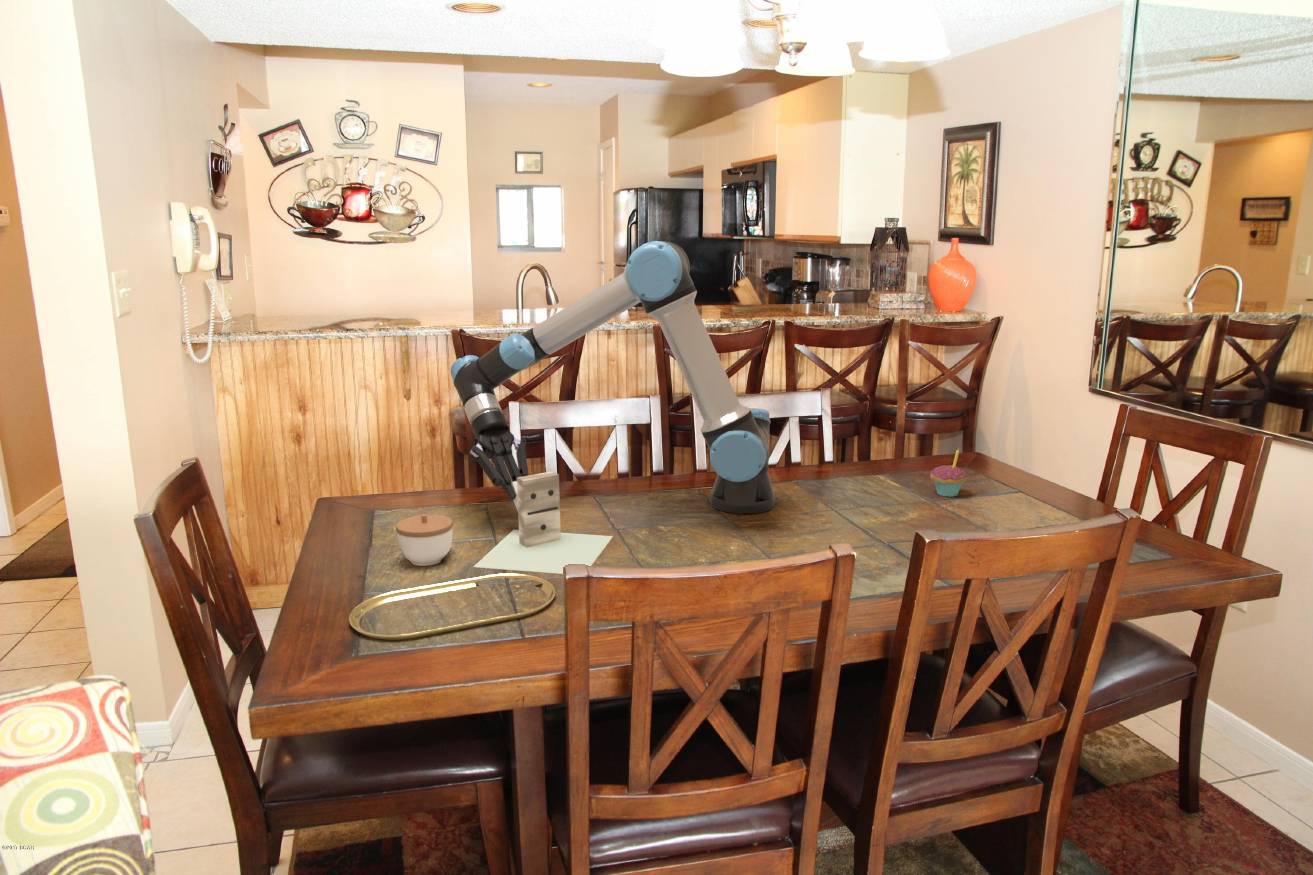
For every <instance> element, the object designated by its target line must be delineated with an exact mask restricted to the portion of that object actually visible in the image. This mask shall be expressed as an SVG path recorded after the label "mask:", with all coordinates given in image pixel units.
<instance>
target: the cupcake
mask: <svg viewBox="0 0 1313 875" xmlns="http://www.w3.org/2000/svg"><path fill="white" fill-rule="evenodd" d="M959 455H960V447H958V448H957V450H956V451H955V455H954V459H953V464H952V465H948V464H946V465H945V464H944V465H938V466H936V467H934V468H933V469H931V471H930V474H929V477H930V480H931V481H932V482H933V483H934V485H935V489H936V493H937V495H938V496H942V497H947V498H948V497H949V498H950V497H951V498H952V497H957V496H958V495H959V492H960V490H961V487H962V486H963V484H966V482H967V478H968V474H967V472H965V470H963V469H962V468H960V467H959V466H957V461H958V458H959Z"/></svg>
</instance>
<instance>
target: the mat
mask: <svg viewBox="0 0 1313 875" xmlns="http://www.w3.org/2000/svg"><path fill="white" fill-rule="evenodd" d="M613 538H614V536H613V535H604V534H603V535H601V534H599V535H597V534H589V533H588V534H587V533H585V534H584V533H574V532H573V533H568V532H561V540H557V541H552V542H548V543H543V544H539V545H535V546H530V547H525V546H523V545H521V544H520V543H519V529H513V530H511V531H510V532H509V533H508V534H507V535H506V536H505V537H504V538H503V539H501V541H499V543H497V544H496V545H495V546H494V547H493V548H492V549H491V550H490V551H489V552H488V553H487V554H485V555H484V556H483V557H482V558H481V559H480V560H479V561H478V562H476V563H475V565H473V568H479V569H480V568H481V569H491V570H492V569H494V570H506V571H517V572H519V571H521V572H532V573H534V572H535V573H544V574H545V573H547V574H557V575H558V574H559V575H564V574H563V567H564V566H565V565H568V564H585V565H588V566H591V567H592V565H593V564H594V563H595V561H596V560H597V559H598V557H599V556H600V555H601V554H602V552H603V551H604V549H605V548H606V547H607V545H609V543H610V541H611V540H612V539H613Z"/></svg>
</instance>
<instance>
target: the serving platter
mask: <svg viewBox="0 0 1313 875" xmlns="http://www.w3.org/2000/svg"><path fill="white" fill-rule="evenodd" d="M505 578H507V579H509V578H514V579H515V578H516V579H517V578H519V579H526V580H532V581H536V582H538V583H540V584H536V585H534V587H537V588H538V587H539V588H538V589H540V590H542V592H544V593H545V595H546V599H545V602H544V603H543V604H542V605H540V606H538V607H535V608H533V609H530V610H527V611H523V612H518V613H512V614H509V615H503V616H497V617H492V618H487V619H483V620H475V621H472V622H466V623H459V624H455V625H450V626H445V627H439V628H434V629H430V630H424V631H418V632H411V633H402V634H379V633H372V632H368V631H365V630H364V629H362V627H361V625H360V620H361V618H362V617H363V616H364V615H366V613H368V611H371V610H372V609H375V608H376V607H378V606H381V605H384V604H388V603H391V602H395V601H400V600H405V599H411V598H417V597H423V596H428V595H436V594H441V593H447V592H453V591H457V590H458V591H459V590H463V589H469V588H470V589H471V588H477V587H480V585H479V584H478V583H477V582H481V581H485V580H493V579H505ZM555 596H556V588H555V587H554V585H553V584H552V583H551V582H550V581H548V580H547V579H544V578H542V577H539V576H536V575H532V574H531V575H530V574H524V573H498V574H497V573H496V574H487V575H482V576H476V577H472V578H464V579H460V580H454V581H447V582H441V583H435V584H429V585H423V586H418V587H411V588H406V589H399V590H395V591H394V590H393V591H389V592H386V593H382V594H379V595H375V596H373V597H371V598H368V599H366V600H364V601H362V602H361V603H359V604H358V605H357V606H355V607H354V608H353V609H352V610H351V612H350V613H349V615H348V621H349V625H350V626H351V627H352V629H354V630H355V631H356V632H358V633H360V634H362V635H363V636H366V637H370V638H373V639H379V640H387V641H388V640H389V641H390V640H391V641H395V640H398V641H399V640H409V639H415V638H417V639H418V638H421V637H426V636H431V635H436V634H443V633H447V632H454V631H458V630H463V629H464V630H465V629H468V628H469V629H470V628H473V627H478V626H485V625H490V624H495V623H498V622H499V623H500V622H504V621H510V620H515V619H516V620H517V619H520V618H524V617H527V616H531V615H533V614H536V613H538V612H540V611H541V610H543V609H545V608H546V607H547V606H549V605H550V603H551V602H552V601H553V599H554V598H555Z"/></svg>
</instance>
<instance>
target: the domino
mask: <svg viewBox="0 0 1313 875" xmlns="http://www.w3.org/2000/svg"><path fill="white" fill-rule="evenodd" d="M517 495H518V511H517V513H518V514H517V515H518V517H517V518H518V530H519V543H520V544H521V545H523V546H525V547H530V546H535V545H539V544H543V543H548V542H552V541H557V540H561V533H562V532H561V504H560V502H561V501H560V500H561V498H560V474H559V473H556V472H555V471H554V472H553V471H547V472H542V473H541V472H540V473H535V474H531V475H528V476H523V477H518V478H517Z"/></svg>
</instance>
